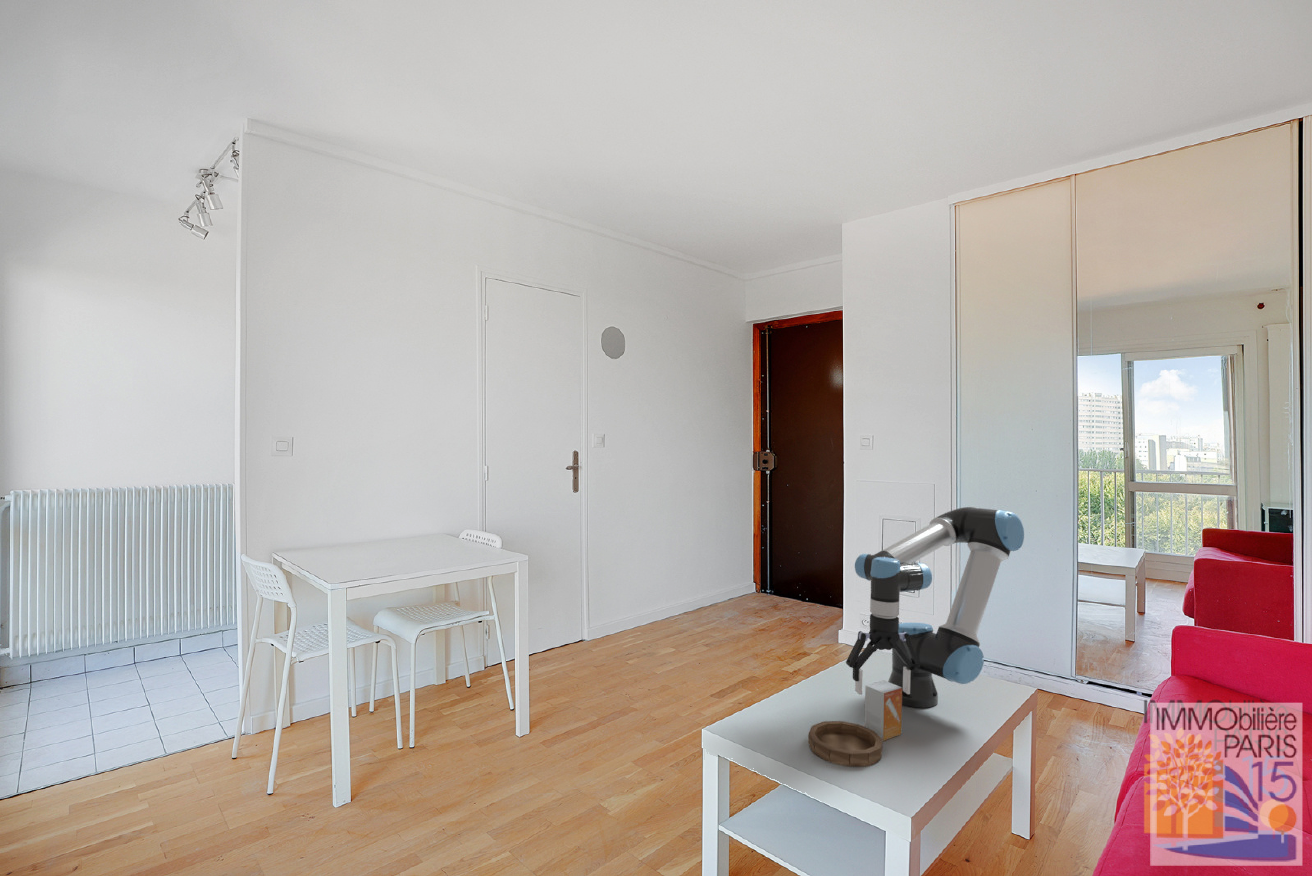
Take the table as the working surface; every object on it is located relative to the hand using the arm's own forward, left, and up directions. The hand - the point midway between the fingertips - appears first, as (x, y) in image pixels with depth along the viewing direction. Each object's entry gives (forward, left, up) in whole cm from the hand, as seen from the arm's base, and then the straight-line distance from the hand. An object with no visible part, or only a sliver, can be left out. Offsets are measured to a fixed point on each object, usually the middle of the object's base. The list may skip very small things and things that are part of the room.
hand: (882, 692), depth 173 cm
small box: (0, 0, -12) cm, 12 cm away
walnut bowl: (+14, +8, -11) cm, 19 cm away
